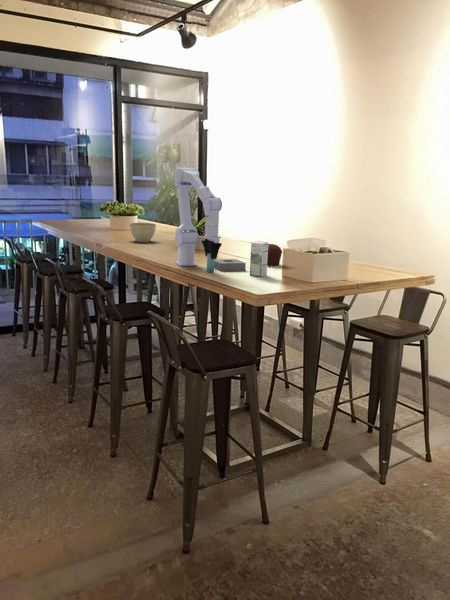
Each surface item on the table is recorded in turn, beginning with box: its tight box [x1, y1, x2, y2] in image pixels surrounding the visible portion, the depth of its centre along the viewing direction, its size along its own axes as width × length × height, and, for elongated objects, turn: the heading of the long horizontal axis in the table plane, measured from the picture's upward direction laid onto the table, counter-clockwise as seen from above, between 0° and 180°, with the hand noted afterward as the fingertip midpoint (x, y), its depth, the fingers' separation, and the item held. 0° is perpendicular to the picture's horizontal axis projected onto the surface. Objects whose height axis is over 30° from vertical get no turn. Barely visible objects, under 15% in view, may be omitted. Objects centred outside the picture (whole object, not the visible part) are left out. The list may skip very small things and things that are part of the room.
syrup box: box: [249, 240, 269, 278], centre depth 223 cm, size 6×6×14 cm
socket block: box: [214, 258, 246, 272], centre depth 238 cm, size 12×12×4 cm
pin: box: [206, 253, 215, 274], centre depth 227 cm, size 3×3×8 cm
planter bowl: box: [129, 222, 157, 243], centre depth 324 cm, size 16×16×11 cm
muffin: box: [267, 243, 283, 267], centre depth 253 cm, size 12×11×10 cm
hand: (210, 257), depth 226 cm, fingers open, 7 cm apart
